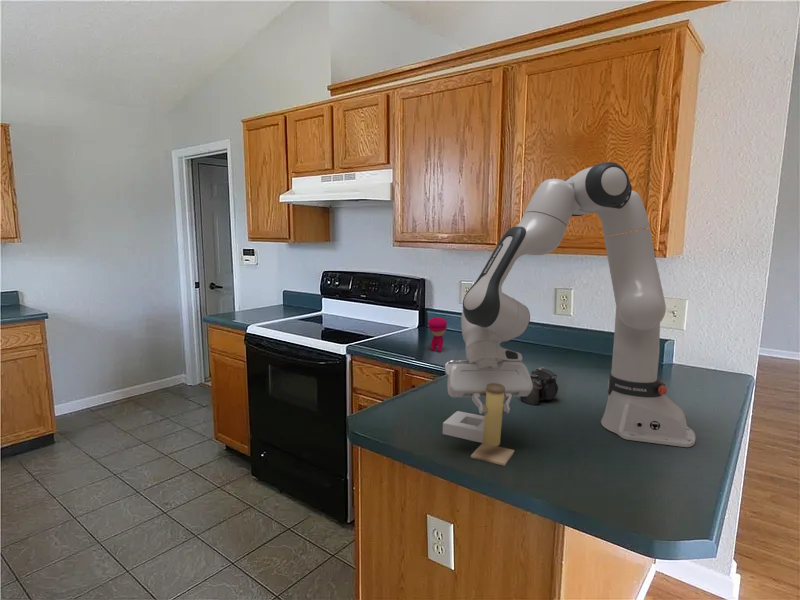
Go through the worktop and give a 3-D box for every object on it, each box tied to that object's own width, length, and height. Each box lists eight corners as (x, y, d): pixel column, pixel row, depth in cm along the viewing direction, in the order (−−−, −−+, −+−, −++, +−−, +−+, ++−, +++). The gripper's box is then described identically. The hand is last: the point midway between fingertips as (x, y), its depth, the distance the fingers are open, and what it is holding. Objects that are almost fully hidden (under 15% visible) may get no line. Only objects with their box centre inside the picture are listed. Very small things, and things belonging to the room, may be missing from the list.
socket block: (499, 430, 129) (499, 419, 128) (487, 444, 120) (487, 432, 120) (457, 421, 134) (457, 410, 134) (442, 433, 126) (442, 422, 125)
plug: (503, 441, 115) (507, 386, 113) (496, 448, 112) (501, 391, 109) (486, 436, 118) (490, 382, 115) (479, 443, 114) (483, 387, 111)
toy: (449, 350, 216) (450, 317, 214) (440, 354, 209) (441, 320, 207) (432, 348, 220) (433, 315, 218) (423, 351, 213) (424, 317, 211)
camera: (548, 409, 146) (550, 376, 144) (516, 402, 151) (518, 370, 150) (561, 397, 156) (563, 367, 155) (531, 391, 162) (533, 361, 161)
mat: (514, 452, 116) (514, 450, 116) (504, 465, 109) (504, 463, 109) (482, 444, 120) (482, 442, 120) (470, 457, 113) (470, 455, 113)
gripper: (445, 353, 117) (453, 407, 109) (527, 353, 119) (541, 406, 111) (441, 366, 122) (448, 418, 114) (520, 366, 124) (532, 417, 116)
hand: (494, 412), depth 112 cm, fingers closed on plug, 4 cm apart
